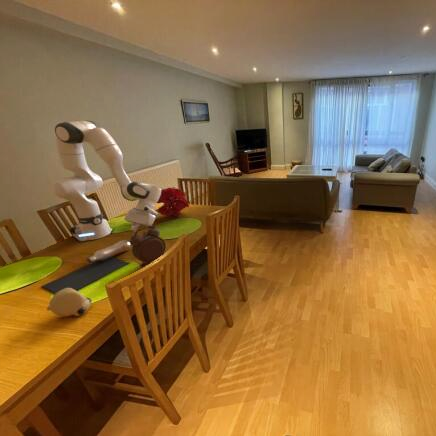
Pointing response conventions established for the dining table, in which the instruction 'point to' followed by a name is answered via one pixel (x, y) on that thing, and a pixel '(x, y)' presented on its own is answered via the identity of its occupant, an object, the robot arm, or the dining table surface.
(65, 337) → the dining table surface
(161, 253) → the alarm clock
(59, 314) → the beige rounded lump
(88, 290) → the dining table surface
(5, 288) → the dining table surface
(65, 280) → the mat
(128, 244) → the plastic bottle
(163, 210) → the bouquet
